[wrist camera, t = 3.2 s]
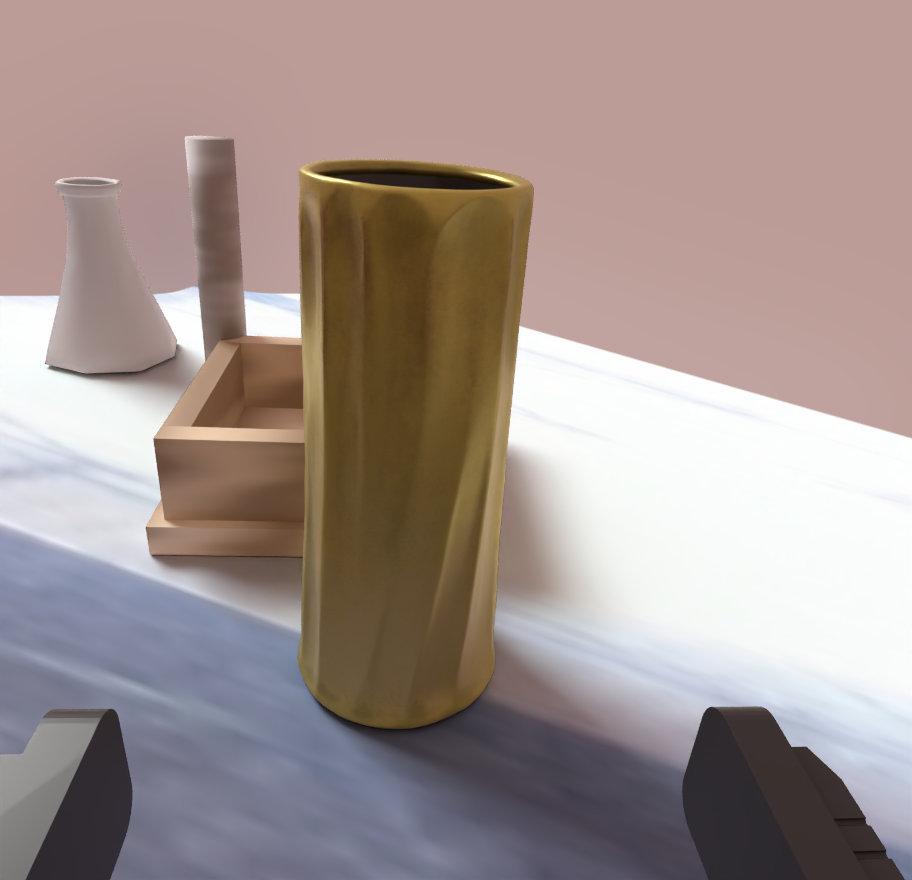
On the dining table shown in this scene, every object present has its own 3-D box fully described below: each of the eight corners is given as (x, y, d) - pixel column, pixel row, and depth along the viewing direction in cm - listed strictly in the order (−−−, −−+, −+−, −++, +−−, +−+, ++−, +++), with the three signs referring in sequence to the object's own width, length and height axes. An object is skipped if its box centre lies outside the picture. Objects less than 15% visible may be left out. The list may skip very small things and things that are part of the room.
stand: (135, 554, 26) (73, 169, 20) (215, 408, 37) (191, 134, 31) (476, 559, 27) (513, 196, 21) (453, 416, 39) (473, 154, 33)
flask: (196, 340, 46) (180, 178, 42) (150, 383, 40) (125, 196, 35) (85, 332, 46) (57, 168, 42) (20, 373, 40) (-21, 184, 35)
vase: (254, 662, 22) (217, 162, 15) (387, 569, 26) (401, 153, 20) (411, 773, 19) (446, 205, 12) (530, 645, 23) (601, 182, 17)
